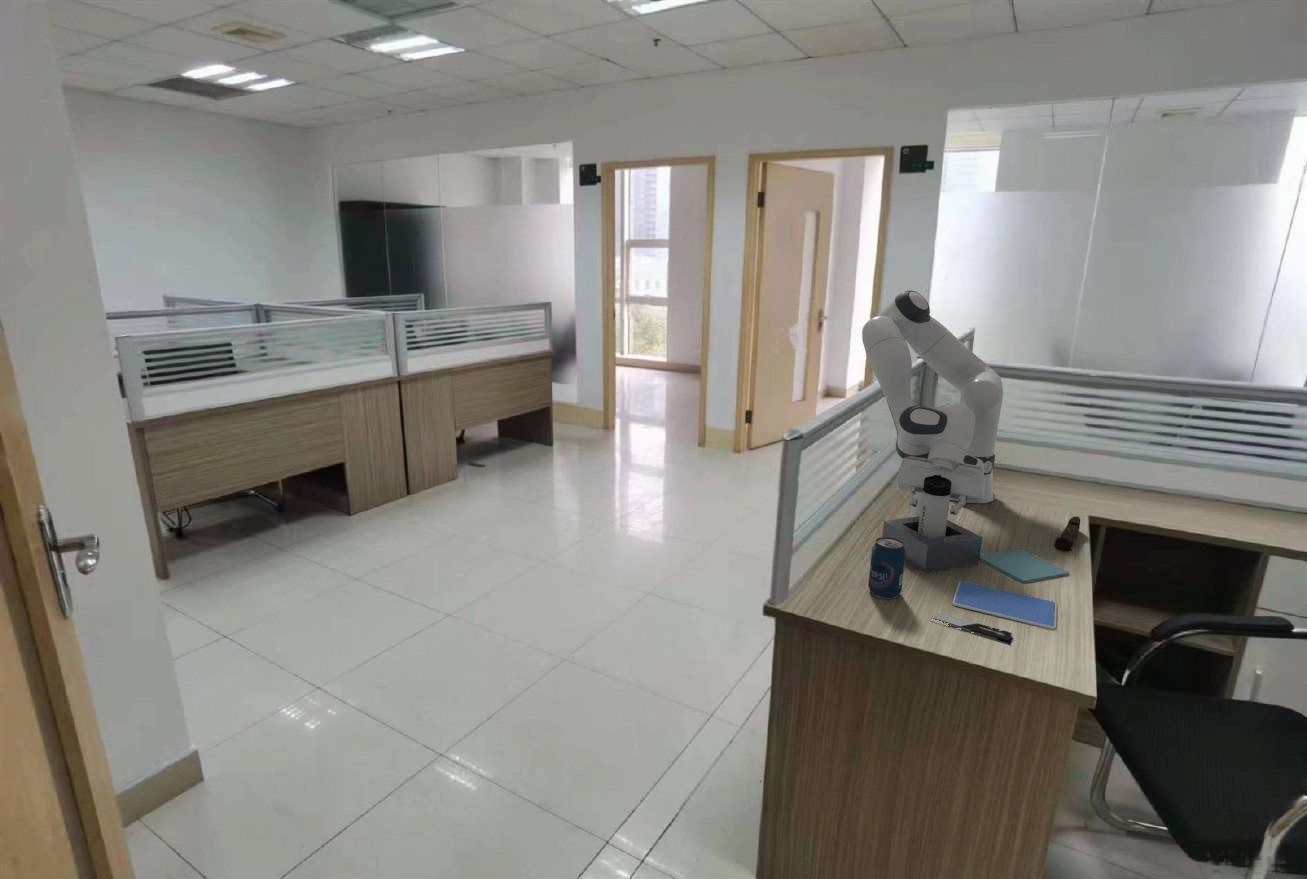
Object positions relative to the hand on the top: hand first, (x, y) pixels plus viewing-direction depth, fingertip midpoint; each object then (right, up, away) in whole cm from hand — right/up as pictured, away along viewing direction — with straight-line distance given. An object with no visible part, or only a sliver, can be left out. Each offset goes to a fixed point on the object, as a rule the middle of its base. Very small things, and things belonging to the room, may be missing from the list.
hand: (932, 509), depth 166 cm
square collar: (0, -12, +3) cm, 12 cm away
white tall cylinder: (+7, -6, +26) cm, 28 cm away
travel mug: (0, -12, +3) cm, 12 cm away
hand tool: (+41, -10, +14) cm, 44 cm away
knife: (-5, -21, -30) cm, 37 cm away
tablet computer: (+7, -19, -20) cm, 29 cm away
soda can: (-17, -17, -16) cm, 29 cm away
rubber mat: (+20, -13, -2) cm, 24 cm away
